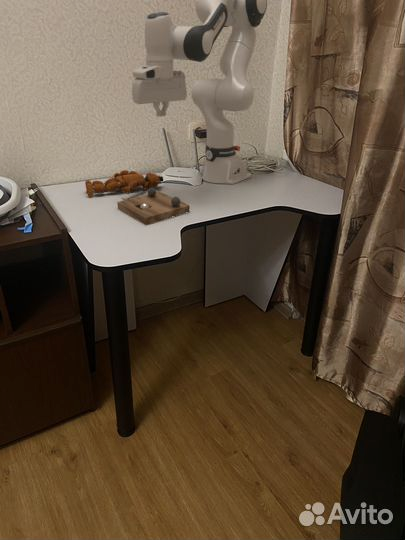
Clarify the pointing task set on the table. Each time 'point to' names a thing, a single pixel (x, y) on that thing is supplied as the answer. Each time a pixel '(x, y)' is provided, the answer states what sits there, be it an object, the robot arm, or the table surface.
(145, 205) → the steel ball
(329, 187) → the table surface
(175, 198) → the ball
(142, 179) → the toy
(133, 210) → the wooden board with hole
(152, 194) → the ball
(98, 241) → the table surface
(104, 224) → the table surface
